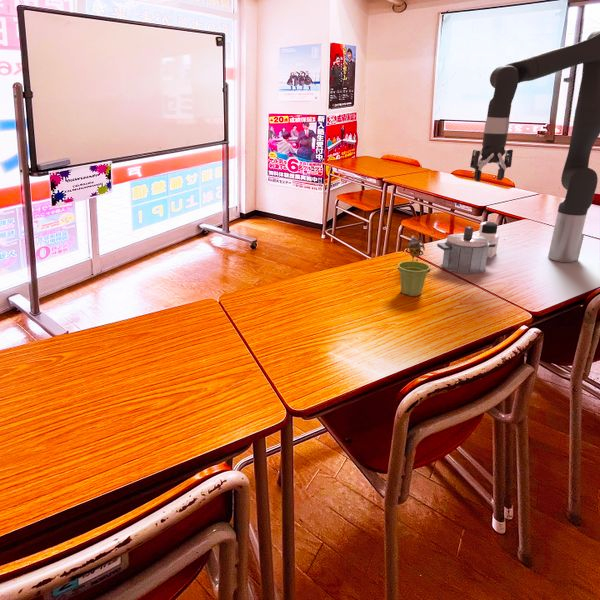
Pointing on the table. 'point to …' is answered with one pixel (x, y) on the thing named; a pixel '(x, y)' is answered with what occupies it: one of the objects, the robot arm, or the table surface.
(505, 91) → the robot arm
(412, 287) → the plant pot
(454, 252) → the pot
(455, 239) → the lid
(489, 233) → the medicine bottle
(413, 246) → the robot figurine
